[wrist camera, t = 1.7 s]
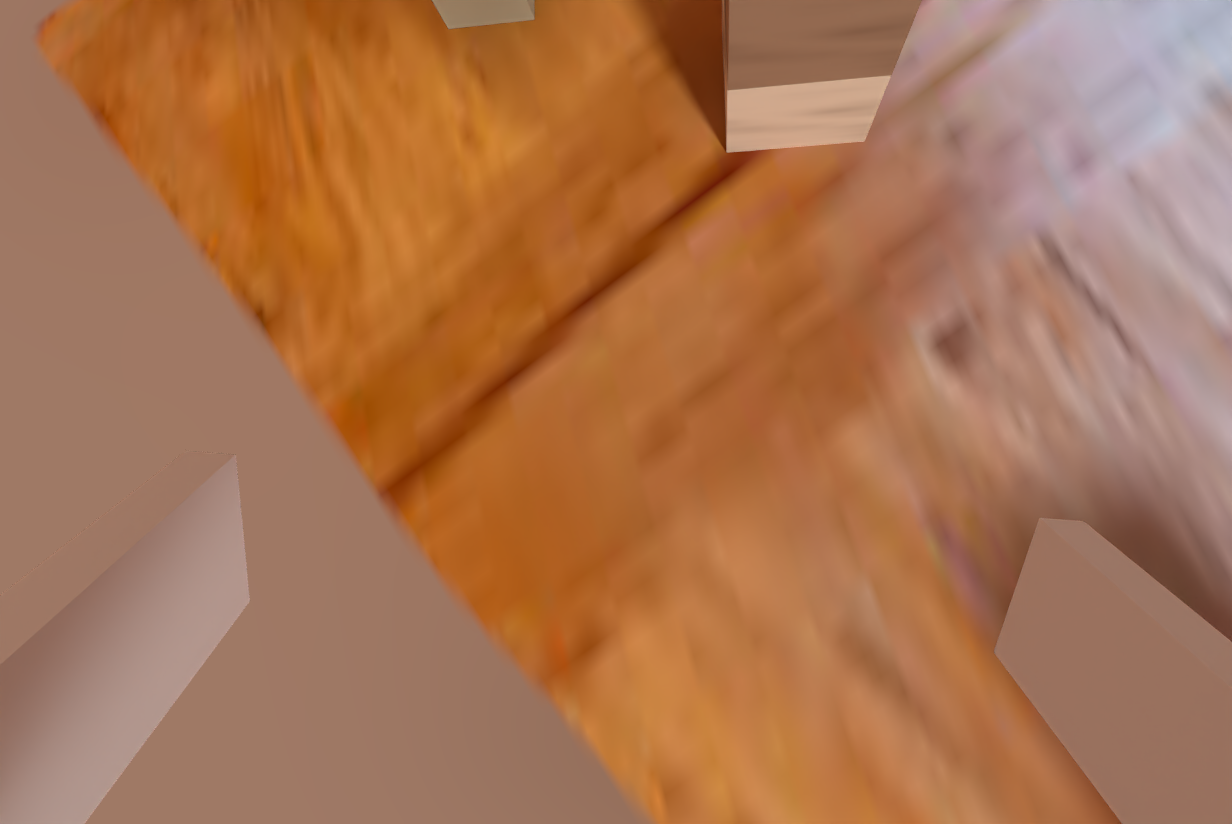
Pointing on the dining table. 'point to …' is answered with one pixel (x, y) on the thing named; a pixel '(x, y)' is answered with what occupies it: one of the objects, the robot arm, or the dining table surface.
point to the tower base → (799, 111)
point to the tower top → (813, 40)
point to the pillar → (483, 12)
